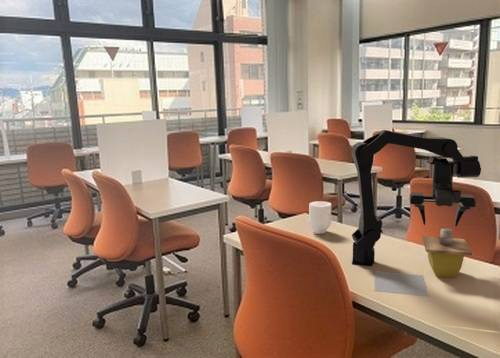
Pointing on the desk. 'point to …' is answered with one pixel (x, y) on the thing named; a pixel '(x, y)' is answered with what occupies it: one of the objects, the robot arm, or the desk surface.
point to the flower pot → (445, 264)
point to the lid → (446, 244)
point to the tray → (400, 283)
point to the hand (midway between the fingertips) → (439, 225)
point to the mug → (320, 216)
